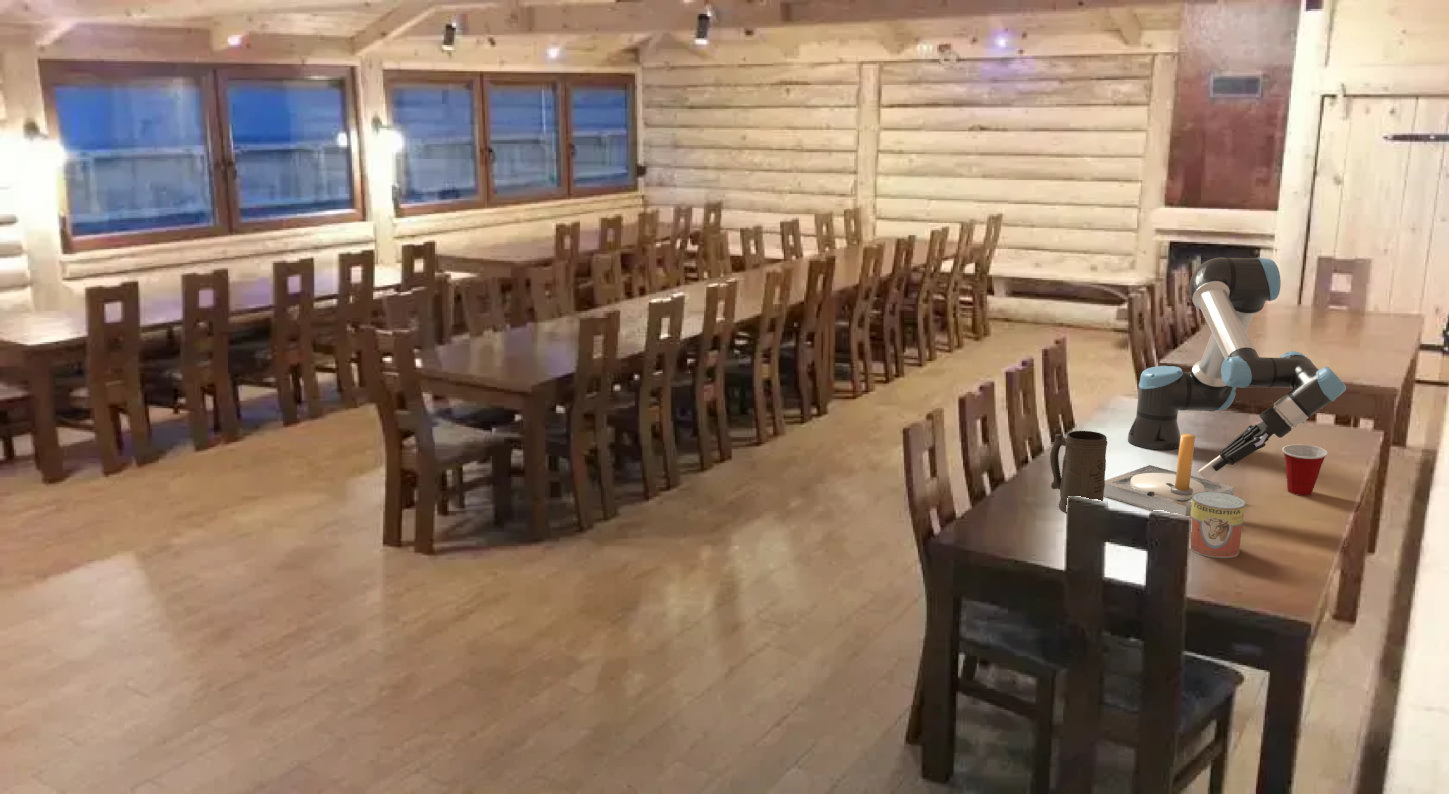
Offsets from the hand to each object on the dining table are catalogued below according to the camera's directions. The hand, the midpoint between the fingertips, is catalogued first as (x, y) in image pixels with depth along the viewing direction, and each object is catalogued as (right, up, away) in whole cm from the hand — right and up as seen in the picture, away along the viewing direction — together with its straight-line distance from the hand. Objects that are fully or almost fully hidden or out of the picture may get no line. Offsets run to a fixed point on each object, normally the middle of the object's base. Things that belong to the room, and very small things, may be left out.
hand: (1202, 475), depth 287 cm
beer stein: (-32, -8, +2) cm, 33 cm away
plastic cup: (+32, -6, +15) cm, 36 cm away
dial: (-5, -4, +9) cm, 12 cm away
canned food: (-8, -15, -25) cm, 30 cm away
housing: (-5, -6, +10) cm, 13 cm away
